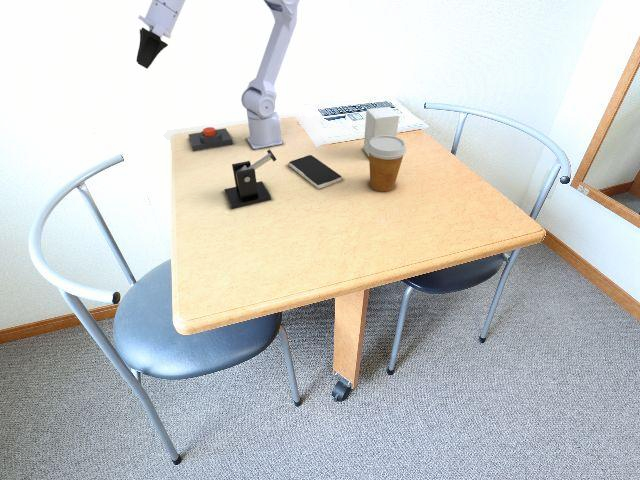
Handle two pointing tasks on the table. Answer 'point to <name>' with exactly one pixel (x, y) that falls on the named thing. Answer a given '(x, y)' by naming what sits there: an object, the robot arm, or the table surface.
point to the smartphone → (315, 171)
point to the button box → (210, 140)
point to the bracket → (246, 187)
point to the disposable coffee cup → (385, 161)
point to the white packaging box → (380, 124)
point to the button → (209, 131)
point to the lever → (259, 162)
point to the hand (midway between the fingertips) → (141, 65)
